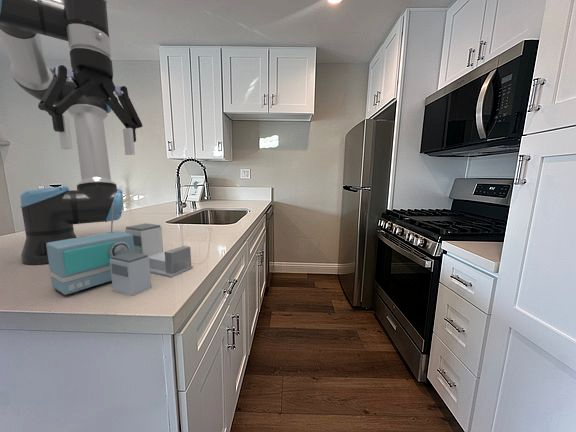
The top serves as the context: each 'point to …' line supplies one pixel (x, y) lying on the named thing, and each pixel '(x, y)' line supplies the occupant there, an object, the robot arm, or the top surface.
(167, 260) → the block
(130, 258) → the block
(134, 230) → the block
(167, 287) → the top surface
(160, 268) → the rail panel
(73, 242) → the radio
